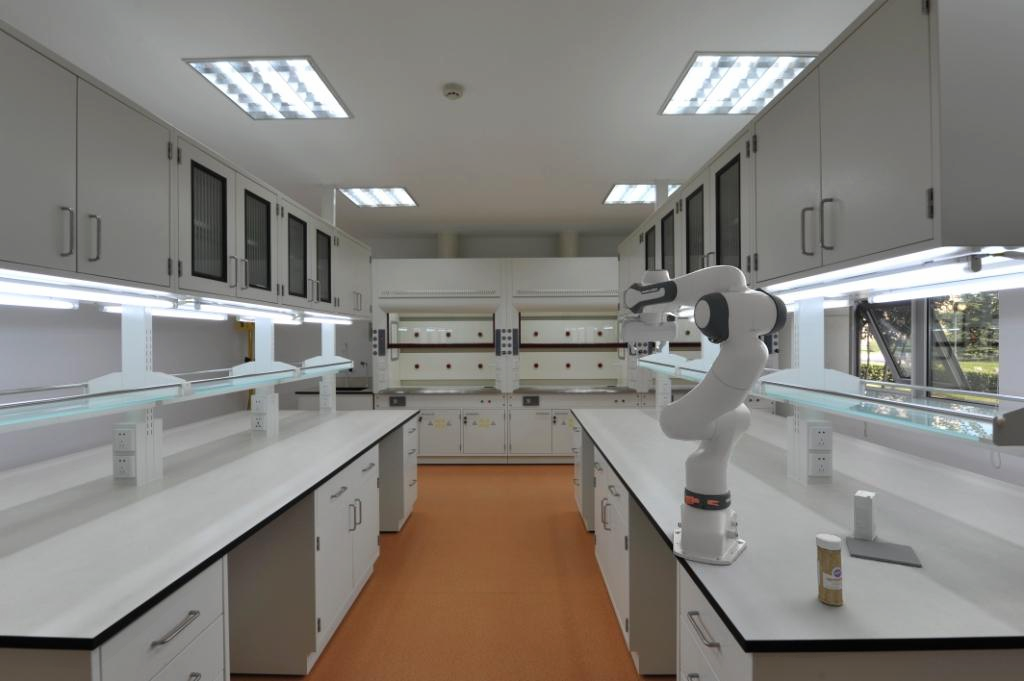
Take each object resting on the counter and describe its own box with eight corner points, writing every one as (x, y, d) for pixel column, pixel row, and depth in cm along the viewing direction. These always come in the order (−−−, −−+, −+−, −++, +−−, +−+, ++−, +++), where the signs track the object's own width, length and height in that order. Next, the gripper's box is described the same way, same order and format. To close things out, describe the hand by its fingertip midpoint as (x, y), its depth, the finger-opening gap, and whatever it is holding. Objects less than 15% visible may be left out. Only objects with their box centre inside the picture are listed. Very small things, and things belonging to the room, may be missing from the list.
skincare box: (858, 532, 137) (857, 489, 138) (878, 536, 134) (876, 492, 134) (853, 538, 133) (852, 494, 133) (873, 543, 130) (872, 497, 130)
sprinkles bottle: (834, 608, 99) (832, 542, 99) (812, 598, 103) (810, 535, 103) (848, 603, 101) (846, 538, 101) (826, 593, 105) (824, 531, 105)
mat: (921, 567, 116) (921, 564, 116) (850, 556, 123) (850, 553, 123) (910, 548, 126) (910, 546, 126) (845, 538, 133) (845, 536, 133)
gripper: (626, 318, 163) (622, 356, 167) (682, 317, 167) (676, 354, 171) (619, 313, 169) (615, 350, 173) (673, 312, 173) (668, 349, 177)
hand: (646, 352), depth 172 cm, fingers open, 8 cm apart
